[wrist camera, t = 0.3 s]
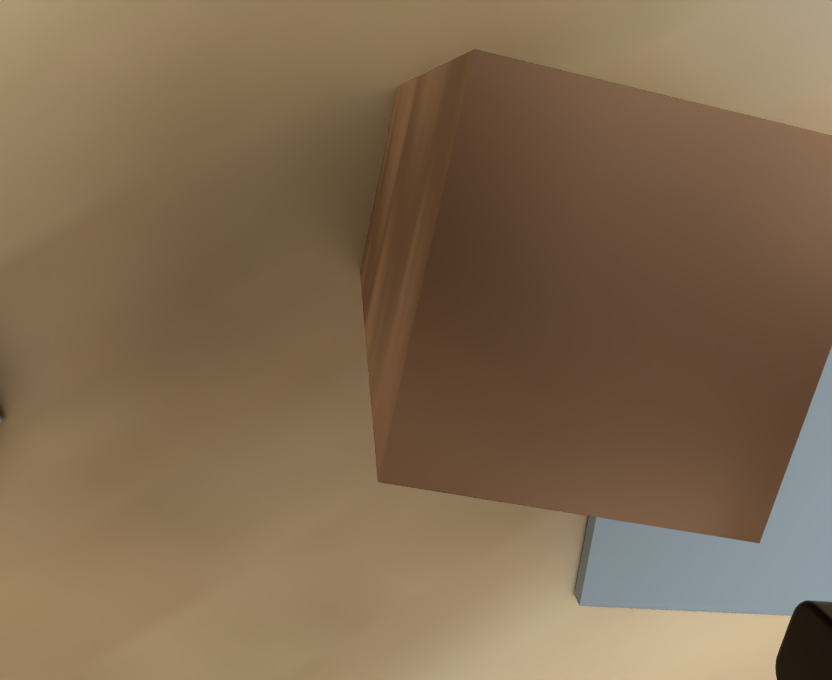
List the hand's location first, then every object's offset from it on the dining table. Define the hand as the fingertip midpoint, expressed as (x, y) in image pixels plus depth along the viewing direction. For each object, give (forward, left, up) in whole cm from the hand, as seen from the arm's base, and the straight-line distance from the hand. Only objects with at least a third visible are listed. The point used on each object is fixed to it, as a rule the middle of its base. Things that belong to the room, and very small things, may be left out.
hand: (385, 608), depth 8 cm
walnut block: (+3, -3, -15) cm, 15 cm away
